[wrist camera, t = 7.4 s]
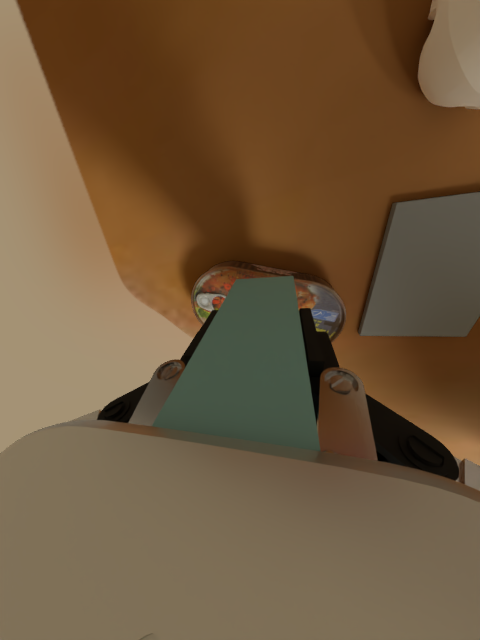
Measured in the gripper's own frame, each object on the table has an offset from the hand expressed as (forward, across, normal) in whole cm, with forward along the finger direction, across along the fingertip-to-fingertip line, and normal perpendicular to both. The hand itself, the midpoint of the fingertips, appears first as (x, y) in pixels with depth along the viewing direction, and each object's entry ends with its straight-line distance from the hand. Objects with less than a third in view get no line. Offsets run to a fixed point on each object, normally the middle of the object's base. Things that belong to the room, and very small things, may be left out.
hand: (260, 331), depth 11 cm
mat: (+9, -14, +1) cm, 17 cm away
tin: (+8, -1, -1) cm, 8 cm away
